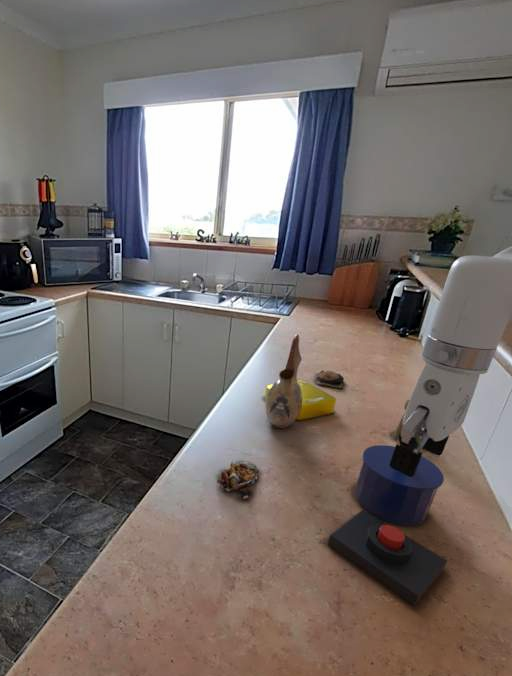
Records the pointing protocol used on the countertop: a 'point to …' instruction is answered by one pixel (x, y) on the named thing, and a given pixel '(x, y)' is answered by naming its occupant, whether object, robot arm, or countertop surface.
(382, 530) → the release button
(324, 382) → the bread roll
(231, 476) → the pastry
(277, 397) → the ceramic vessel
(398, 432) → the brown pawn
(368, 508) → the tin
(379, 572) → the block
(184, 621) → the countertop surface
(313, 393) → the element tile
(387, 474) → the blue round disc
